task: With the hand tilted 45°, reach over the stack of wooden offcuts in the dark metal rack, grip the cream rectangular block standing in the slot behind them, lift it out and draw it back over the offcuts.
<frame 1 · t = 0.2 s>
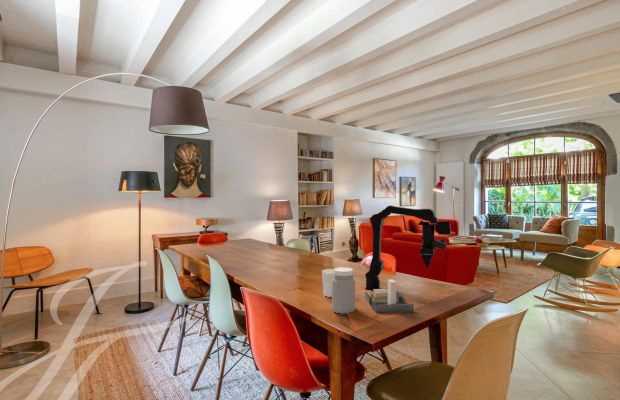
hand: (428, 265, 162), 15 cm above the table, tool pointing down, fingers open, 9 cm apart
rack: (387, 306, 146), on the table
jar: (343, 311, 140), on the table
white cylinder: (331, 295, 163), on the table
offcut stack: (384, 302, 152), resting on rack
cream rectangular block: (391, 308, 140), point 1 cm above the table, touching rack
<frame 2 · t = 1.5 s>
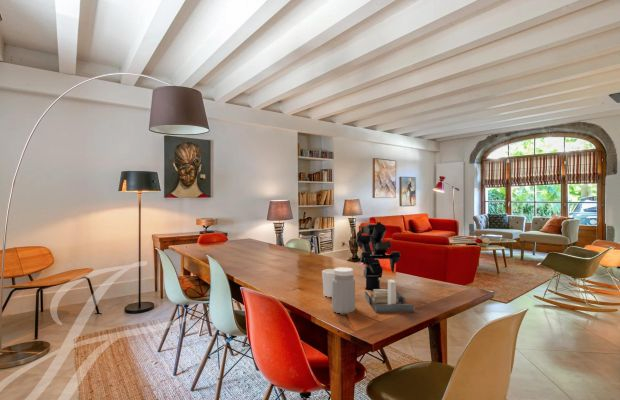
hand: (383, 272, 153), 13 cm above the table, tool tilted 45°, fingers open, 9 cm apart
nothing on the table moved.
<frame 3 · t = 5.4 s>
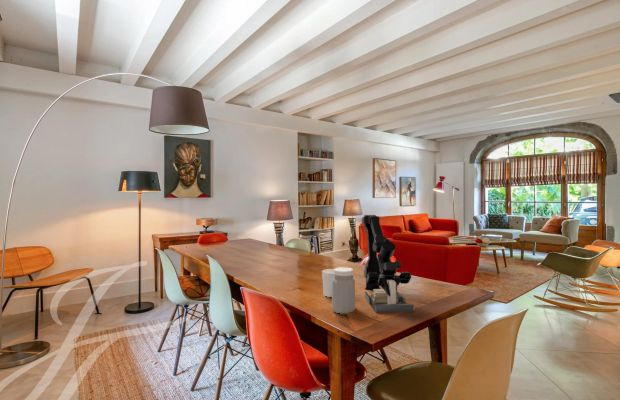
hand: (392, 295, 139), 7 cm above the table, tool tilted 45°, fingers closed on cream rectangular block, 2 cm apart
cream rectangular block: (391, 308, 140), point 1 cm above the table, touching gripper, rack
everything else where it was.
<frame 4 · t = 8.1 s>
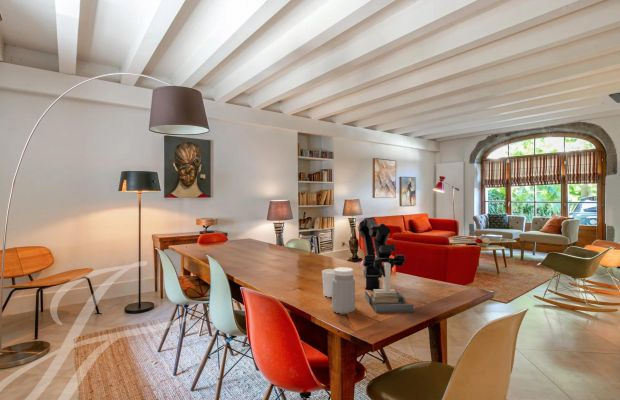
hand: (387, 276, 146), 13 cm above the table, tool tilted 45°, fingers closed on cream rectangular block, 2 cm apart
cream rectangular block: (386, 289, 148), point 7 cm above the table, touching gripper
everything else where it was.
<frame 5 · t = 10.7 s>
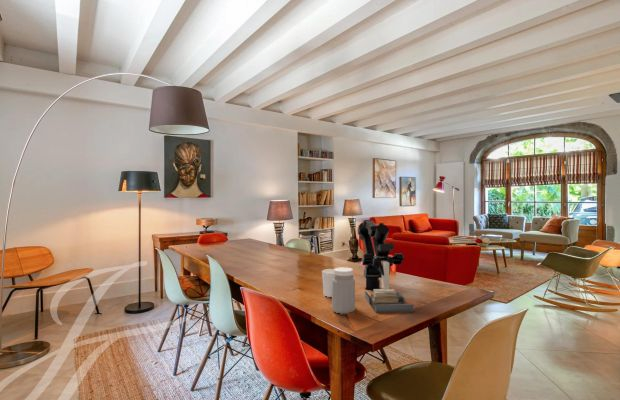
hand: (386, 275, 148), 14 cm above the table, tool tilted 45°, fingers closed on cream rectangular block, 2 cm apart
cream rectangular block: (385, 288, 149), point 7 cm above the table, touching gripper
everything else where it was.
at the end: the gripper is holding cream rectangular block; cream rectangular block point 7.2 cm above the table; cream rectangular block moved 11.3 cm from its start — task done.
